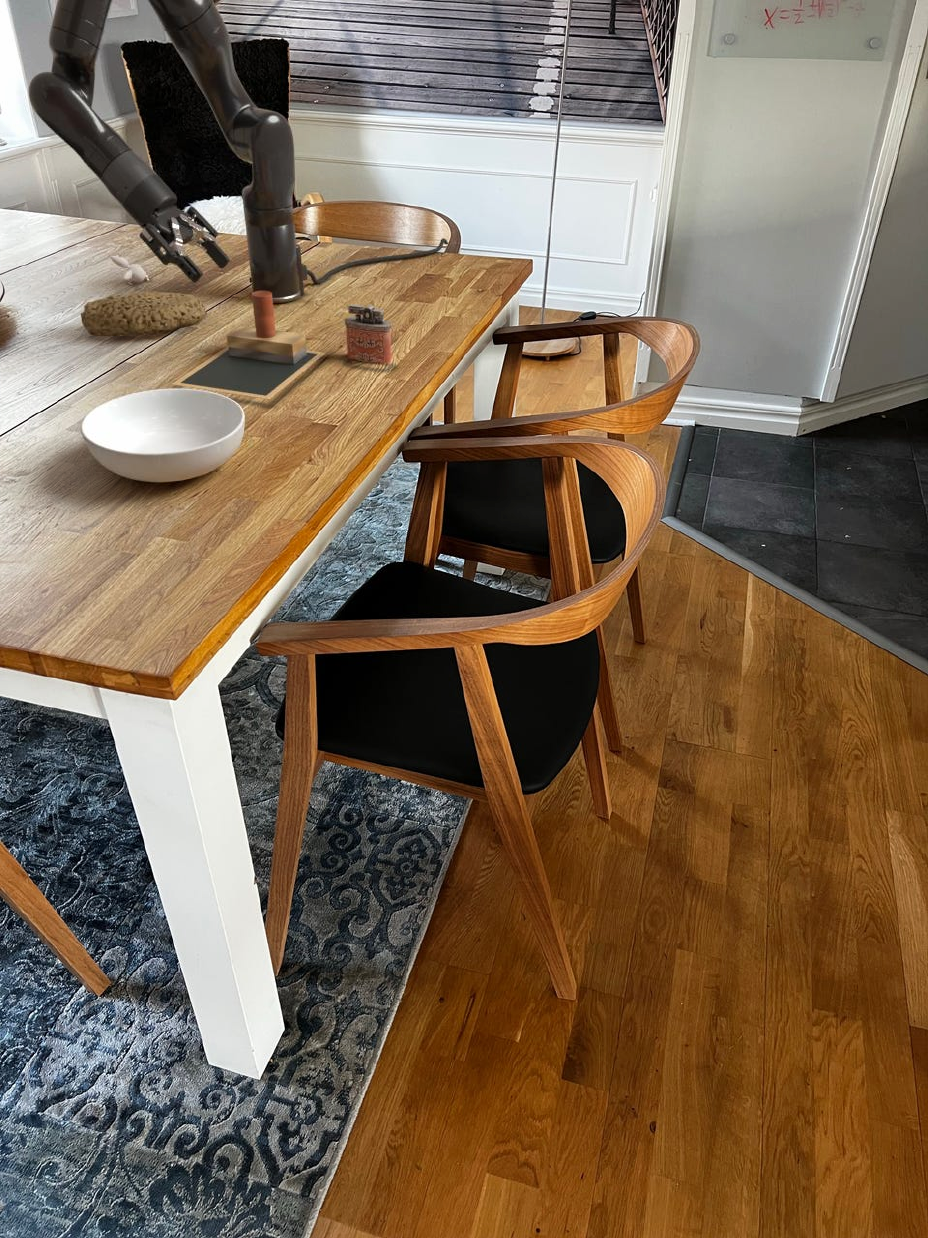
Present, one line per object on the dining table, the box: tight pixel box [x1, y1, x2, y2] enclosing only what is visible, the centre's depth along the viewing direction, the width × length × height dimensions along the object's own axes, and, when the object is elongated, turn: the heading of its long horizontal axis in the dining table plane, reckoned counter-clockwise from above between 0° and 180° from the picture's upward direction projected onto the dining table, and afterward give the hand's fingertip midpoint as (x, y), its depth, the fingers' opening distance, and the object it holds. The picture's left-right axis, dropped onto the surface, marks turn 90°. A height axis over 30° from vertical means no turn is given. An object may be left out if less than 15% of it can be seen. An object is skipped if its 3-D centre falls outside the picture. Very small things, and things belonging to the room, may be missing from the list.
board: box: [171, 345, 326, 400], centre depth 156 cm, size 21×17×1 cm
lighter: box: [344, 303, 393, 372], centre depth 157 cm, size 8×3×10 cm, turn 71°
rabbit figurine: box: [110, 255, 150, 286], centre depth 193 cm, size 6×4×8 cm
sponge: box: [80, 291, 208, 337], centre depth 170 cm, size 13×8×20 cm
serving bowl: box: [80, 388, 246, 483], centre depth 127 cm, size 21×21×7 cm
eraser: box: [226, 291, 308, 365], centre depth 157 cm, size 12×5×10 cm, turn 72°
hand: (213, 271), depth 154 cm, fingers open, 8 cm apart
